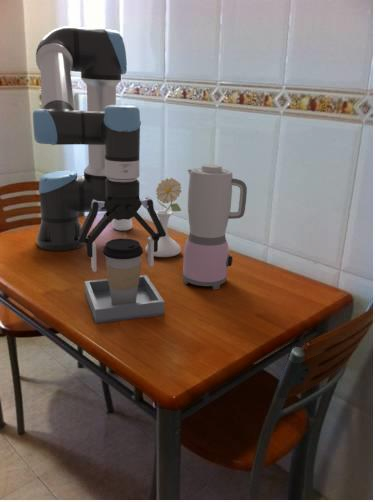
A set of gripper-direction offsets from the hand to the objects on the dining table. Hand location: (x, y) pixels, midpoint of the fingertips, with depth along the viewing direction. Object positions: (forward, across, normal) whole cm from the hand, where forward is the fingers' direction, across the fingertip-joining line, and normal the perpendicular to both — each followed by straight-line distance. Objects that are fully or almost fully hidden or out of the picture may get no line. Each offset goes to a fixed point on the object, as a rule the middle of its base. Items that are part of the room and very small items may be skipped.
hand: (122, 266), depth 109 cm
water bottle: (+10, +13, +60) cm, 62 cm away
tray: (+10, 0, 0) cm, 10 cm away
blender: (+10, +26, +7) cm, 29 cm away
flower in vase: (+10, +20, +30) cm, 37 cm away
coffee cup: (+9, 0, 0) cm, 9 cm away
